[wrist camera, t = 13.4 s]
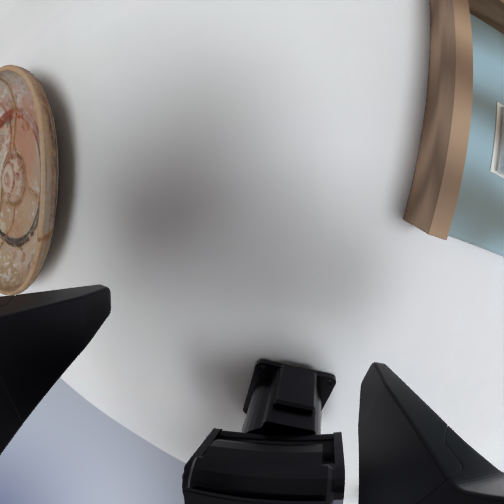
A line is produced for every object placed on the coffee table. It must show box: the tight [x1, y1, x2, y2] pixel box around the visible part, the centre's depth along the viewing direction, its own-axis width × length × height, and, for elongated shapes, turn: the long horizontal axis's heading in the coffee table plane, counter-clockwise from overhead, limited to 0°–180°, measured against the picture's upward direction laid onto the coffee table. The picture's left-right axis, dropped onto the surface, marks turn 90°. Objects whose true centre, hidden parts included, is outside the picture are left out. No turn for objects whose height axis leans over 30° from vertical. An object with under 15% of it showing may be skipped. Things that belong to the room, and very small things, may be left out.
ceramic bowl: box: [0, 65, 59, 295], centre depth 20 cm, size 23×24×5 cm
